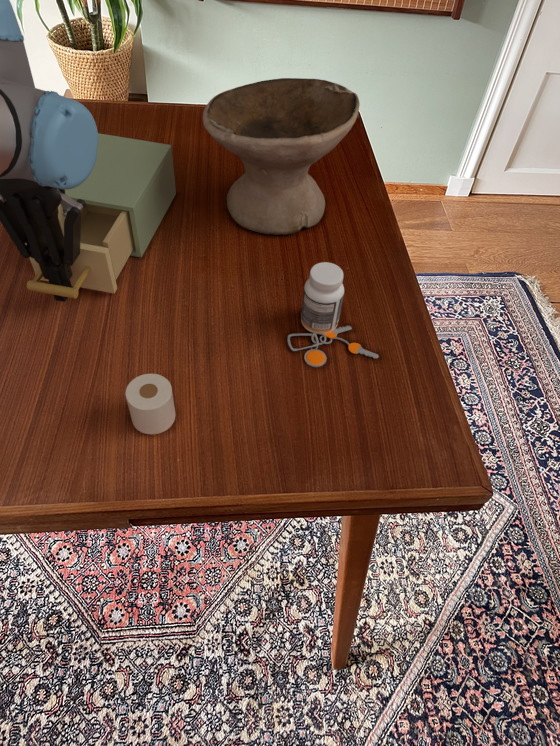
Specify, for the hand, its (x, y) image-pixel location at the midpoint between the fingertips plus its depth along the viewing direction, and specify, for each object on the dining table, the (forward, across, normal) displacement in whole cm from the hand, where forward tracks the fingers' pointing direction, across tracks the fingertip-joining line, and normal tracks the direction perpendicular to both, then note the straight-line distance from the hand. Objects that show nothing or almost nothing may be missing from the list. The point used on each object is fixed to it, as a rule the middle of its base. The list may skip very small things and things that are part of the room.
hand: (64, 294), depth 85 cm
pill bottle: (+2, -38, -6) cm, 38 cm away
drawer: (+1, 0, -9) cm, 9 cm away
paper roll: (+2, -19, +16) cm, 25 cm away
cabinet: (+2, 0, -22) cm, 23 cm away
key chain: (+3, -40, -2) cm, 40 cm away
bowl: (+2, -25, -33) cm, 42 cm away
